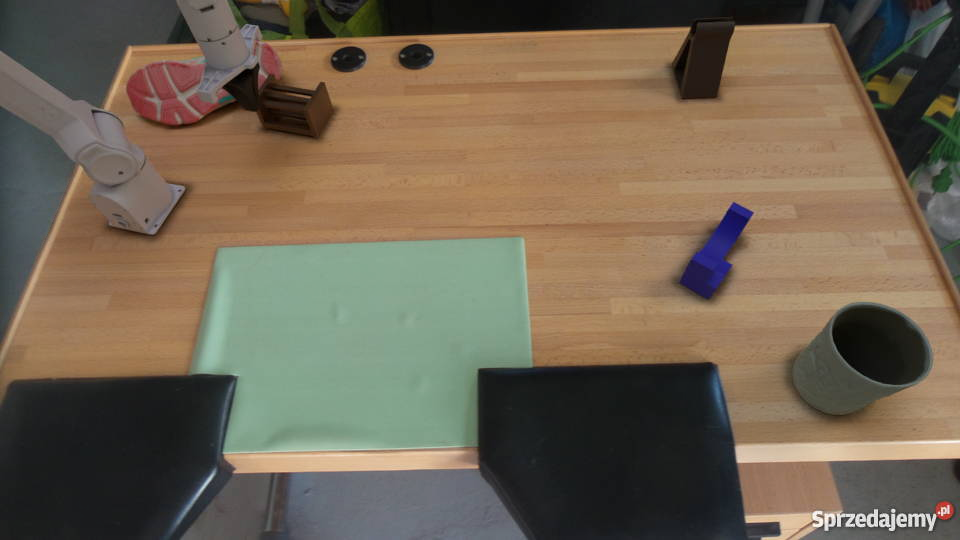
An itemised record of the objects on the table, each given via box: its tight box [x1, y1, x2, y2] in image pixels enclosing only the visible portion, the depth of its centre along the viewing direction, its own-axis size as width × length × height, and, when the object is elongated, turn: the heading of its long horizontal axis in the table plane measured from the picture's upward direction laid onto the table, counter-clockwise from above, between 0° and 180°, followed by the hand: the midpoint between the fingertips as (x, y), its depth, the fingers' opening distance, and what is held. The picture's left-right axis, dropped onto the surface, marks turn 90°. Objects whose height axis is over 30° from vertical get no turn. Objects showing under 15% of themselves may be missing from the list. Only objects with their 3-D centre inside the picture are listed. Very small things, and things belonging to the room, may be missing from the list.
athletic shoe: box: [125, 41, 283, 126], centre depth 99 cm, size 27×9×12 cm
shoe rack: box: [255, 73, 334, 139], centre depth 95 cm, size 7×10×6 cm
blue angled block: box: [678, 201, 755, 301], centre depth 78 cm, size 12×4×6 cm, turn 141°
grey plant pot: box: [791, 301, 934, 416], centre depth 65 cm, size 10×10×12 cm
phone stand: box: [670, 16, 736, 99], centre depth 95 cm, size 9×6×12 cm, turn 1°
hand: (252, 108), depth 86 cm, fingers closed
